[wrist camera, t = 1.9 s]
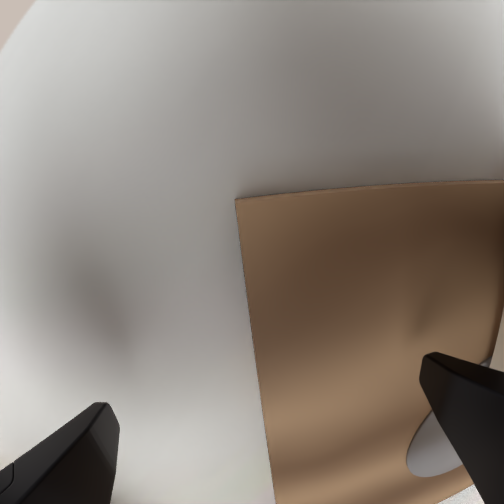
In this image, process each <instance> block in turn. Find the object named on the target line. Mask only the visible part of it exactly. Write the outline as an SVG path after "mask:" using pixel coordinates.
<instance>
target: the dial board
mask: <svg viewBox="0 0 504 504" xmlns="http://www.w3.org/2000/svg"><path fill="white" fill-rule="evenodd" d="M235 206H236V214H237V222H238V230H239V238H240V246H241V254H242V261H243V269H244V277H245V285H246V292H247V300H248V308H249V315H250V323H251V330H252V338H253V345H254V353H255V360H256V367H257V375H258V382H259V389H260V396H261V404H262V411H263V418H264V425H265V432H266V439H267V446H268V453H269V460H270V467H271V474H272V480H273V487H274V494H275V501H276V504H437V503H439V502H441V501H443V500H445V499H447V498H449V497H451V496H453V495H455V494H457V493H458V492H460V491H462V490H464V489H466V488H468V487H469V486H471V485H473V484H474V483H473V481H472V479H471V477H470V476H469V474H468V472H467V470H466V469H465V467H464V465H463V463H462V462H461V460H460V458H459V456H458V455H457V453H456V451H455V450H454V448H453V446H452V445H451V443H450V441H449V440H448V438H447V436H446V435H445V433H444V431H443V430H442V428H441V426H440V425H439V423H438V421H437V419H436V417H435V415H434V413H433V411H432V408H431V406H430V404H429V402H428V400H427V398H426V396H425V394H424V392H423V390H422V387H421V385H420V382H419V374H420V369H421V363H422V358H423V356H424V355H426V354H428V353H431V352H440V353H443V354H446V355H449V356H452V357H456V358H459V359H462V360H465V361H469V362H472V363H475V364H479V365H482V366H485V367H490V364H491V360H492V356H493V353H494V349H495V345H496V341H497V337H498V332H499V328H500V323H501V319H502V314H503V308H504V180H479V181H446V182H423V183H404V184H388V185H373V186H360V187H347V188H336V189H325V190H314V191H304V192H294V193H284V194H275V195H266V196H258V197H250V198H241V199H235Z"/></svg>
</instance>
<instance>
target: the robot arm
mask: <svg viewBox="0 0 504 504" xmlns="http://www.w3.org/2000/svg"><path fill="white" fill-rule="evenodd" d="M419 382H420V385H421V387H422V390H423V392H424V394H425V396H426V398H427V400H428V402H429V404H430V406H431V408H432V411H433V413H434V415H435V417H436V419H437V421H438V423H439V425H440V426H441V428H442V430H443V431H444V433H445V435H446V436H447V438H448V440H449V441H450V443H451V445H452V446H453V448H454V450H455V451H456V453H457V455H458V456H459V458H460V460H461V462H462V463H463V465H464V467H465V469H466V470H467V472H468V474H469V476H470V477H471V479H472V481H473V483H474V485H475V486H476V488H477V490H478V492H479V494H480V496H481V497H482V499H483V501H484V503H485V504H504V372H502V371H499V370H495V369H492V368H489V367H485V366H482V365H479V364H475V363H472V362H469V361H465V360H462V359H459V358H456V357H452V356H449V355H446V354H443V353H440V352H431V353H428V354H426V355H424V356H423V358H422V363H421V369H420V374H419ZM119 433H120V427H119V423H118V421H117V418H116V416H115V414H114V412H113V410H112V408H111V406H110V404H109V403H107V402H95V403H93V404H92V405H91V406H89V407H88V408H87V409H85V410H84V411H83V412H81V413H80V414H79V415H77V416H76V417H74V418H73V419H72V420H70V421H69V422H68V423H66V424H65V425H64V426H62V427H61V428H59V429H58V430H57V431H55V432H54V433H53V434H51V435H50V436H49V437H47V438H46V439H44V440H43V441H42V442H40V443H39V444H37V445H36V446H35V447H33V448H32V449H30V450H29V451H28V452H26V453H25V454H23V455H22V456H21V457H19V458H18V459H16V460H15V461H14V463H13V462H12V463H11V464H9V465H8V466H7V467H5V468H4V469H2V470H1V471H0V504H110V500H111V495H112V490H113V485H114V480H115V474H116V465H117V453H118V443H119Z"/></svg>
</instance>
